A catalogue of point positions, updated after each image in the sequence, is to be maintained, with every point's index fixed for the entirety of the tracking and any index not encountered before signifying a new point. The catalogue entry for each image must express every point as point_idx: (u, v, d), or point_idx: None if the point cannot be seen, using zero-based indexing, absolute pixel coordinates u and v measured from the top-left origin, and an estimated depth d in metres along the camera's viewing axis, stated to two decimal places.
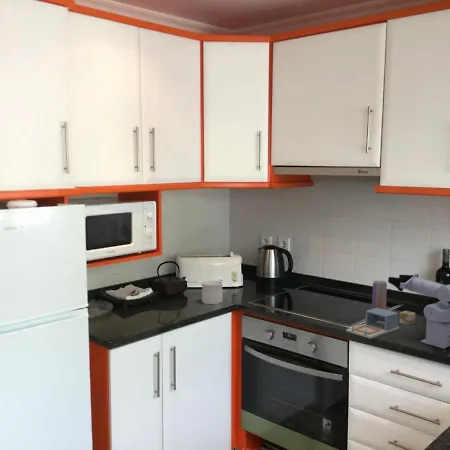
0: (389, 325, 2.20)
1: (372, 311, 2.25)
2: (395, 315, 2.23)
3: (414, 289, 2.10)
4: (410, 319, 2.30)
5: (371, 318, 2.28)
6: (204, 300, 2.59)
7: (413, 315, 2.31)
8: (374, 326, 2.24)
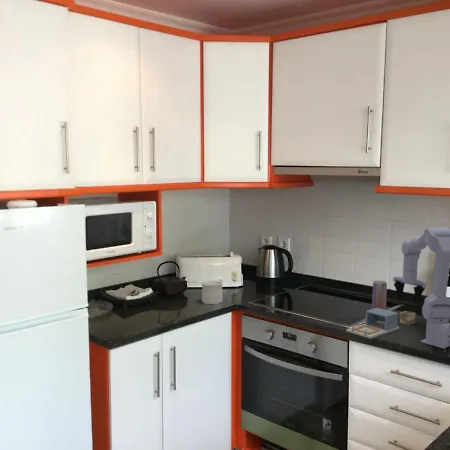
0: (389, 325, 2.20)
1: (372, 311, 2.25)
2: (395, 315, 2.23)
3: None
4: (410, 319, 2.30)
5: (371, 318, 2.28)
6: (204, 300, 2.59)
7: (413, 315, 2.31)
8: (374, 326, 2.24)
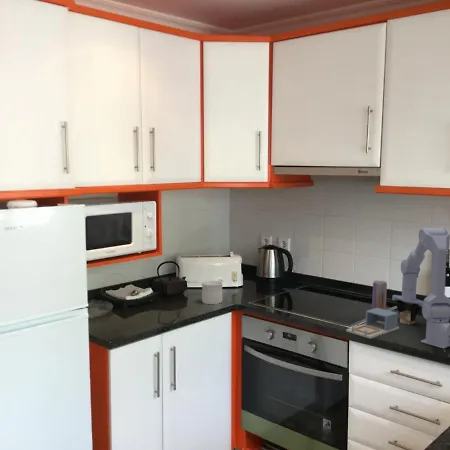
0: (389, 325, 2.20)
1: (372, 311, 2.25)
2: (395, 315, 2.23)
3: None
4: (410, 319, 2.30)
5: (371, 318, 2.28)
6: (204, 300, 2.59)
7: None
8: (374, 326, 2.24)
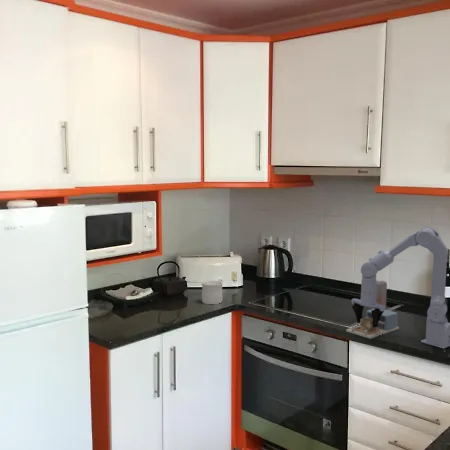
0: (389, 325, 2.20)
1: None
2: (395, 315, 2.23)
3: None
4: (371, 326, 2.17)
5: None
6: (204, 300, 2.59)
7: None
8: None
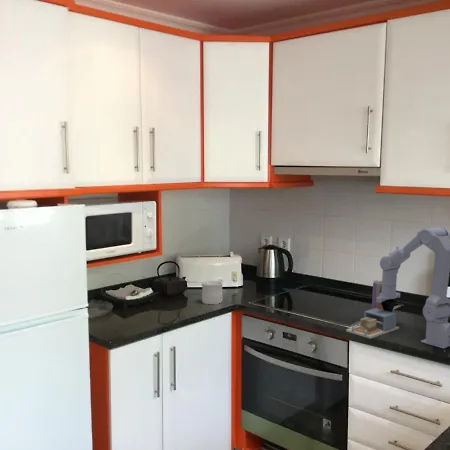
0: (388, 325, 2.20)
1: (371, 311, 2.25)
2: (394, 315, 2.22)
3: (388, 293, 2.24)
4: (371, 326, 2.17)
5: None
6: (204, 300, 2.59)
7: (374, 322, 2.18)
8: None
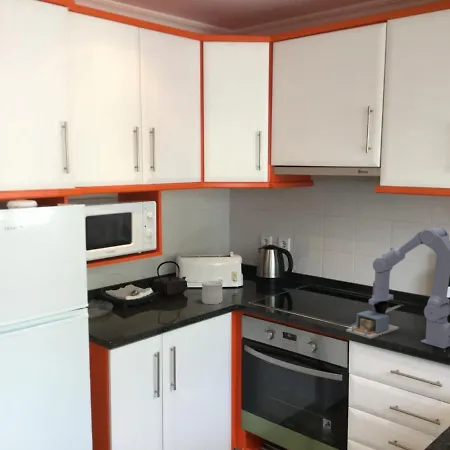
0: (380, 328, 2.16)
1: (363, 314, 2.21)
2: (386, 318, 2.18)
3: (380, 295, 2.21)
4: (371, 326, 2.17)
5: None
6: (204, 300, 2.59)
7: (374, 322, 2.18)
8: None
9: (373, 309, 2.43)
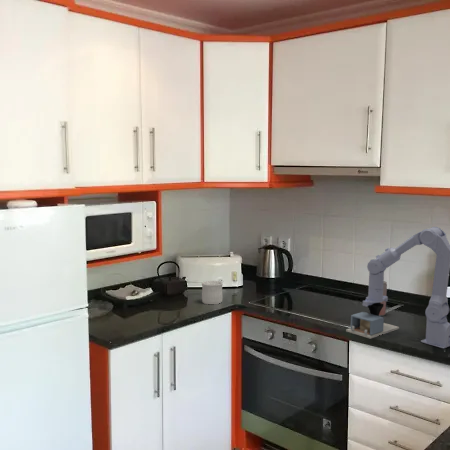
0: (374, 330, 2.14)
1: (357, 315, 2.19)
2: (381, 319, 2.16)
3: (375, 296, 2.18)
4: None
5: (356, 322, 2.21)
6: (204, 300, 2.59)
7: None
8: None
9: None
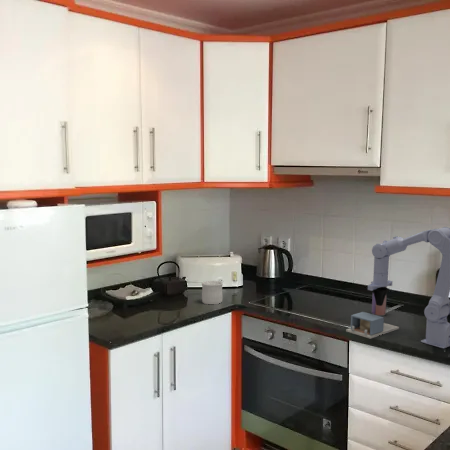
0: (375, 330, 2.14)
1: (357, 315, 2.19)
2: (381, 319, 2.16)
3: (380, 280, 2.19)
4: None
5: (356, 322, 2.21)
6: (204, 300, 2.59)
7: None
8: None
9: (373, 309, 2.43)
